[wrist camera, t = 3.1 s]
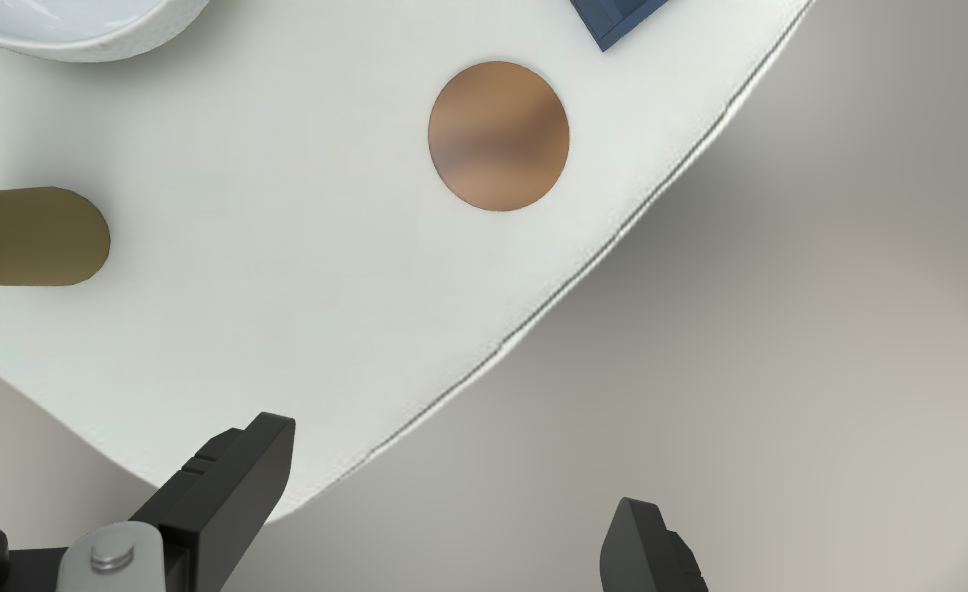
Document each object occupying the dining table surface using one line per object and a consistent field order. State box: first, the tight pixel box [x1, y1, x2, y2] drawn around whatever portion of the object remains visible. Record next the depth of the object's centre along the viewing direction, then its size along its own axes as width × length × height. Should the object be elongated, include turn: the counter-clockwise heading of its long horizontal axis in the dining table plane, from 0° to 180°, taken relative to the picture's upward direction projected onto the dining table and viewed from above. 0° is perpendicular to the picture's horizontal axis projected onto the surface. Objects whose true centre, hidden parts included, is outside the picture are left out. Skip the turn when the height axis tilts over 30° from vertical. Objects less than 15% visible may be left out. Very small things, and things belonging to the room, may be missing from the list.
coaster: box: [428, 61, 569, 211], centre depth 34 cm, size 10×10×1 cm
